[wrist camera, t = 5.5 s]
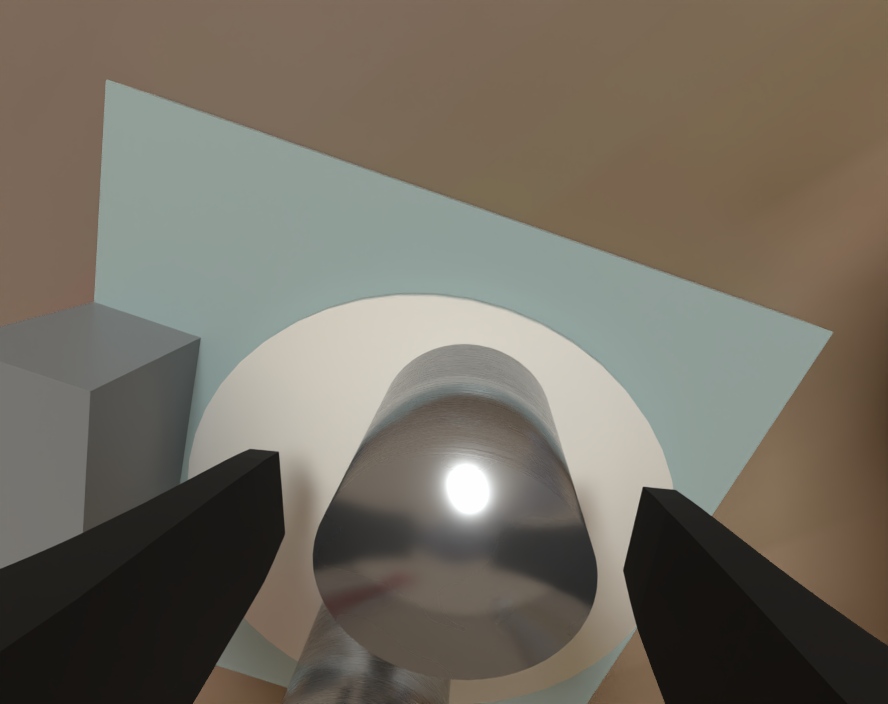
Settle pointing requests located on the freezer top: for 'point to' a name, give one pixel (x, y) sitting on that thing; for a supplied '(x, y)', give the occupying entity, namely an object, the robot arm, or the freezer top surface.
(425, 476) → the cylinder
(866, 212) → the freezer top surface
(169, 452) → the scale
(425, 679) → the cylinder
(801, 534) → the freezer top surface
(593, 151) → the freezer top surface
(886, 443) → the freezer top surface
